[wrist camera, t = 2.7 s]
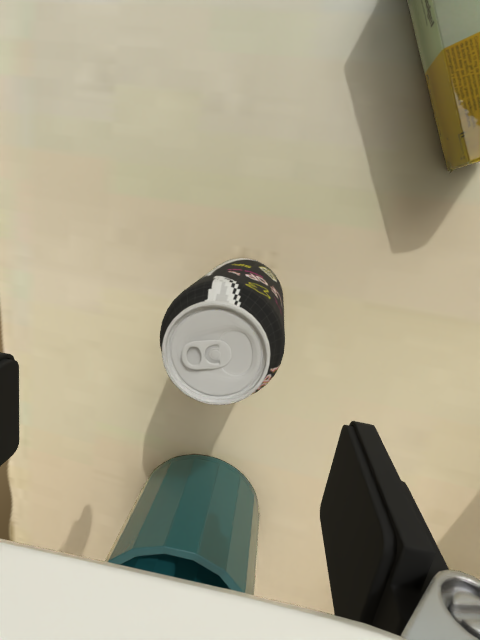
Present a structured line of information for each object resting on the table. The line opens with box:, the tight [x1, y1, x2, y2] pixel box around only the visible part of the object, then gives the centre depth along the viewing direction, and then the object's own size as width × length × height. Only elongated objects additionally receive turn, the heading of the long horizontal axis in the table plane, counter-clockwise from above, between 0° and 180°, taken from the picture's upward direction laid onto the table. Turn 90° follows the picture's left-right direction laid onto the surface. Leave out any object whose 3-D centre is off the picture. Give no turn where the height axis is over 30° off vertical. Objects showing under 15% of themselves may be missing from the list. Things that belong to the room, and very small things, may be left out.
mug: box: [105, 455, 259, 595], centre depth 28 cm, size 13×10×9 cm
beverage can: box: [160, 258, 285, 405], centre depth 21 cm, size 6×6×12 cm
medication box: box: [407, 0, 480, 173], centre depth 19 cm, size 12×3×4 cm, turn 21°
